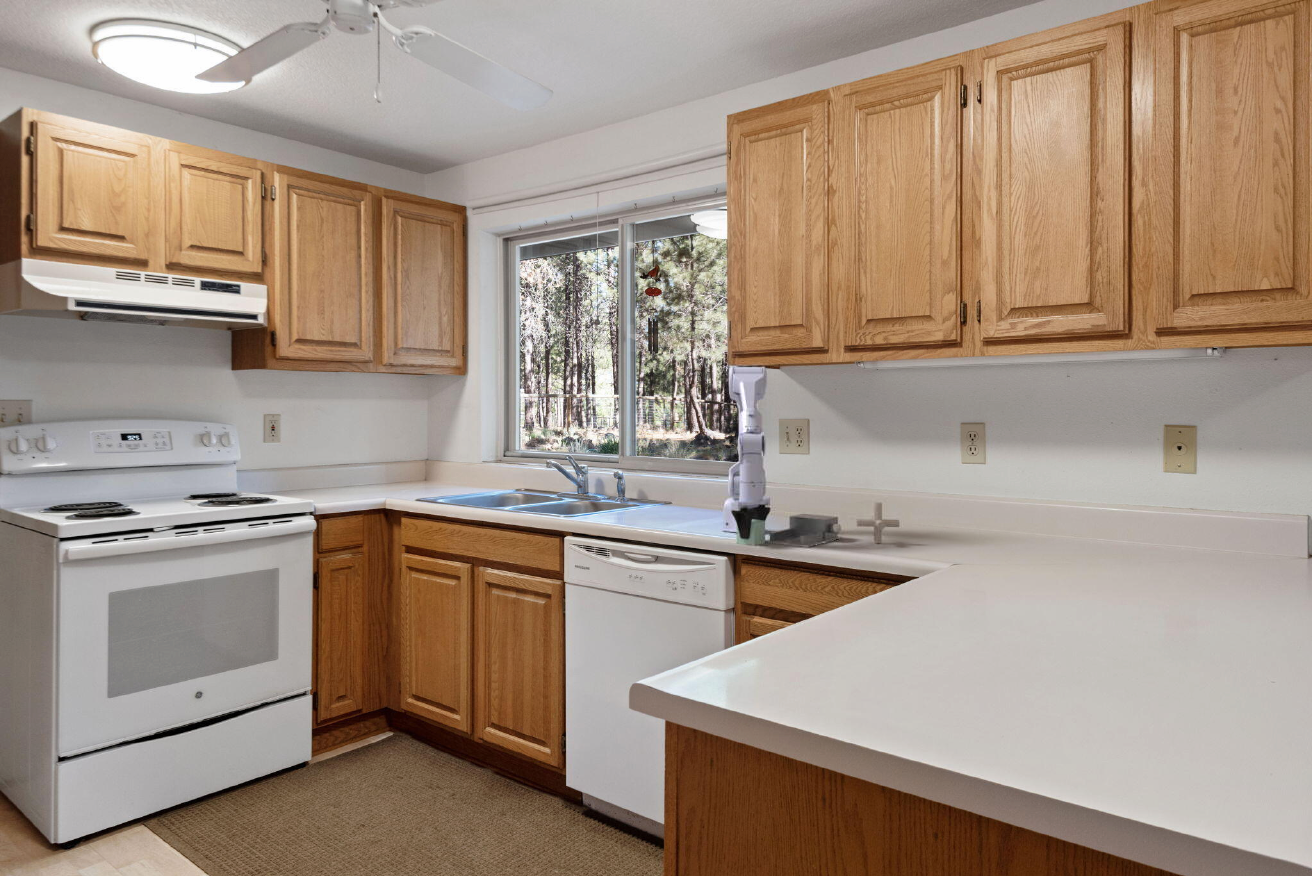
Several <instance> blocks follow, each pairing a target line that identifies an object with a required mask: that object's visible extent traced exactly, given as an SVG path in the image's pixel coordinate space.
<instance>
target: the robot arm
mask: <svg viewBox="0 0 1312 876" xmlns="http://www.w3.org/2000/svg"><path fill="white" fill-rule="evenodd" d="M767 373H768V372H767V368H766V367H765V366H760V367H759V366H757V367H756V366H752V367H751V366H730V367H729V368H728V391H729V393H728V394H729V398H730V399H731V400H733V401H735V402H736V405H737V407H738V437H737V453H738V461H737V462H736V463H735V464H733V465H732V466H731V467H729V469H728V482H727V483H728V484H727V487H728V488H727V492H728V496H729V497H728V498H727V499H726V500H725V501H724V505H723V510H722V511H723V519H722V520H723V526H722V527H723V528H722V529H721V531H722V532H728V533H729V532H730V533H737V526H738V530H739V534H740V538H741V539H749V536H750V528H751V522H752V519H754V520H764V521H765V522H766V521H767V518H768V516H769V514H770V512H771V507H770V506H771V497H765V496H766V491H767V486H766V485H767V482H766V481H767V480H766V479H767V478H766V470H765V469H764V457H765V454H766V450H767V449H766V445H767V444H766V435H765V431H764V429H763V417H762V414H761V412H760V411H758V410H757V408H758V401H761V400H763V399H764V396H765V394H766V389H767V383H768V382H767V381H768V379H767V378H768V376H767ZM765 532H767V529H766V528H765Z"/></svg>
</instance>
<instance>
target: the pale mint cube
mask: <svg viewBox="0 0 1312 876" xmlns="http://www.w3.org/2000/svg"><path fill="white" fill-rule="evenodd" d="M765 529H766V520H765V521H764V520H754V519H752V522H751V528H750V536H749V539H741V538H740V534H739V530H738V526H737V532H736V544H739V545H746V546H747V545H748V546H757V545H763V544H766V543H765V540H766V531H765Z"/></svg>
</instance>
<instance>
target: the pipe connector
mask: <svg viewBox="0 0 1312 876" xmlns="http://www.w3.org/2000/svg"><path fill="white" fill-rule="evenodd" d="M873 508H874V509H873V511H874V512H873V513H874V515H873V517H871V519H870V518H863V519H862V518H857V519H856V527H865V528H866V527H868V528H869V527H870V528H871V527H872V528H873V527H874V528H873V544H875V543H882V542H883V541H882V540H883V539H882V538H883V537H882V533H883V530H884V529H885V528H899V527H900V525H901V523H900V519H883V503H882V502H879V501H878V502H874V506H873Z"/></svg>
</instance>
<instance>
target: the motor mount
mask: <svg viewBox="0 0 1312 876" xmlns="http://www.w3.org/2000/svg"><path fill="white" fill-rule="evenodd" d="M841 531H842V526H841V524H839V517H838V516H833V515H831V516H830V515H822V514H821V515H820V514H811V513H810V514H809V513H799V514H795V515H789V528H784V529H780V530H776V531H771V532H769V538H768V539H765V542H767V544H774V545H782V546H783V545H784V546H789V547H798V546H802V547H801V548H806V547H808V548H810V547H809V546H812V547H814V546H813V545H816V544H820V545H822V544H821V543H823V542H827V543H830V542H829V541H831V542H835V541H837V540H836V539H839V540H841V538H842V539H843V536H839V534H840V533H841ZM834 540H835V541H834ZM816 546H817V545H816Z"/></svg>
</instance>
